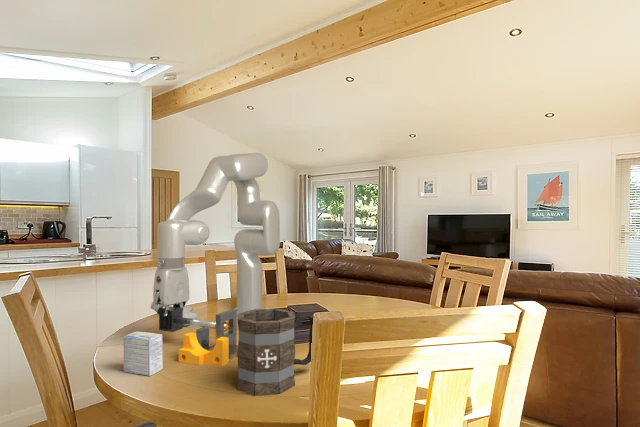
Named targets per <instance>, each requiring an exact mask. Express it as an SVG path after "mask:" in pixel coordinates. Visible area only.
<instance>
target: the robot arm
mask: <svg viewBox="0 0 640 427" xmlns="http://www.w3.org/2000/svg"><path fill="white" fill-rule="evenodd" d="M268 167H269V163H268V159H267V158H266V156H265V155H264V154H263V153H261V152H251V153H234V154H229V155H219V156H215V157H212V158H211V160H210V161H209V163H208V165H207V167H206V168H205V170H204V171H203V175H202V176H201V178H200V180H199V182H198V184H197V186H196V188H195V189H194V190H193V191H192V192H190V193H189V194H188V195H186V196H185V197H184V198H182V200H180V201H178V203H176V205H175V206H174V207H173V208H172V210H171V212H169V215H168V217H167V219H166V220H164V221H160V222H159V223H158V224H157V228H156V229H157V230H156V231H157V232H156V233H157V235H156V236H157V237H156V238H157V239H156V242H157V243H156V245H157V246H156V250H157V251H156V254H157V255H156V258H157V259H156V262H155V266H156V268H157V269H156V270H155V274H154V279H153V288H152V289H153V290H152V291H153V292H152V293H153V294H152V296H153V297H152V299H153V300H152V302H151V304H150V309H151V310H153V311H155V312H156V313H157V315H158V316H159V315H160V329H163V330H169V329H170V316H168V312H169V306H172V307H179V308H183V310H184V307H186V306H185V305H186V303H187V302H188V301H189V299H190V280H189V272H188V268H187V267H186V264H185V262H186V245H188V246H199V245H202V244H204V243H205V242H207V241H208V239H209V238H210V234H211V232H210V228H209V226H208V224H206V223H205V222H204V221H202V220H195V219H194V220H193V219H192V220H191V218H193V217H194V216H195V215H196V214H198V213H200V212H202V211H204V210H207V209H209V208H211V207H213V206H215V205H217V204H219V203H220V202H221V199H222V197H223V195H224V193H225V191H226V188H227V186H228V184H229V183H230V182H231V181H233V183H234V185H235V187H236V194H237V195H236V196H237V219H238V221H239V223H240V224H241V225H243V226H250V227H251V226H252V227H253V226H257V227H262V228H261V229H257V228H246V229H242V230H239V231H238V232H237V233H236V234H235V236H234V239H233V241H234V249H235V256H236V307H235V308H233V309H236V310H237V316H238V313H242V312H246V311H250V310H253V309H267V308H266V307H265V306H263V263H262V260H261V259H260V257H259V255H260V256H273V255H275V254H277V252H278V251H279V249H280V244H281V231H280V230H281V227H280V225H281V221H280V220H281V219H280V218H281V217H280V210H279V207H278V204H276V202H274V201H273V200H268V199H267V200H264V199H263V200H261V188H260V185H259V182H258V181H257V180H256V178H260V177H263V176H264V175H265V174H266V173H267V171H268V169H269V168H268ZM163 308H164V309H163Z"/></svg>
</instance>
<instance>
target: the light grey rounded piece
mask: <svg viewBox="0 0 640 427" xmlns="http://www.w3.org/2000/svg"><path fill="white" fill-rule="evenodd" d="M193 311H194V308H193V306H192V305H188V306H184V310H183V317H184V318H191V319H198V313H197V312H193ZM186 326H190V325H186V324H183V327H186Z"/></svg>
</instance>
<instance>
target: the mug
mask: <svg viewBox="0 0 640 427" xmlns="http://www.w3.org/2000/svg"><path fill="white" fill-rule="evenodd" d="M307 319H309V323H310V324H309V325H310V329H309V334H308V337H309V339H308V353H307V355H306V357H305V358H303V359H299V358H296V344H295V330H296V329H299V327H300V326H301V325H302V324H303V322H304V321H306V320H307ZM312 324H313V315H311V314H310V313H303V314H301V315H299V316H298V317H297V318H296V315H295V312H294V311H293V310H287V309H283V308H282V309H281V308H266V309H253V310H250V311H246V312H242V313H238V315H237V327H238V328H237V330H238V342H237V343H238V344H237V345H238V353H237V356H236V357H237V366H238V370H237V371H238V372H237V373H238V376H237V382H236V390H237V391H239V392H242V393H245V394H247V395H251V396H253V397H260V396H261V397H262V396H273V395H274V396H275V395H276V396H277V395H281V394H283V393H285V392H287V391H288V390H290V389H293V387H295V386H296V382H295V381H296V380H295V366H296V365H297V366H298V365H303V366H306V365H308V364H310V363H311V362H312V361H311V343H312Z"/></svg>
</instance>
